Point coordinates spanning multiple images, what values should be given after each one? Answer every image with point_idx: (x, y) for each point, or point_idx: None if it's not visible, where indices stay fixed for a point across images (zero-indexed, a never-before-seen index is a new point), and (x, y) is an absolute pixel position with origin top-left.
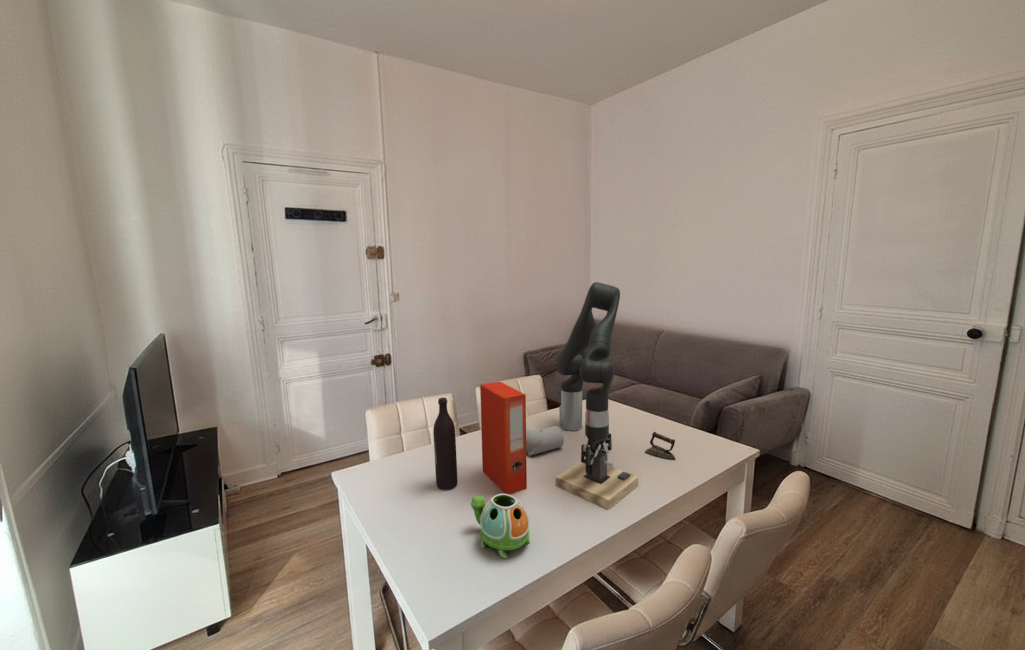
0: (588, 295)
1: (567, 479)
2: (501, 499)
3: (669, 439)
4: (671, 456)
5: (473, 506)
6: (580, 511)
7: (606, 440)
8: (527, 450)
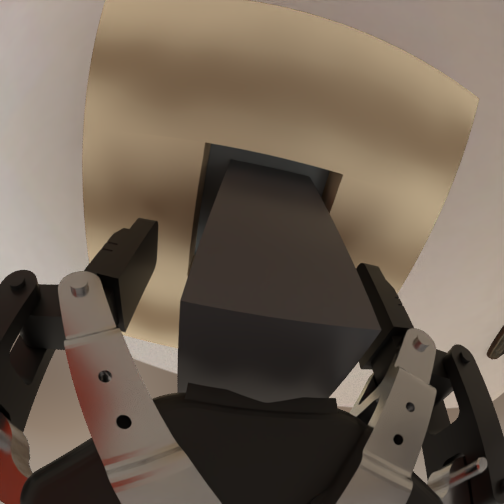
0: None
1: (112, 75)
2: None
3: None
4: (494, 354)
5: None
6: (42, 224)
7: (449, 456)
8: None
